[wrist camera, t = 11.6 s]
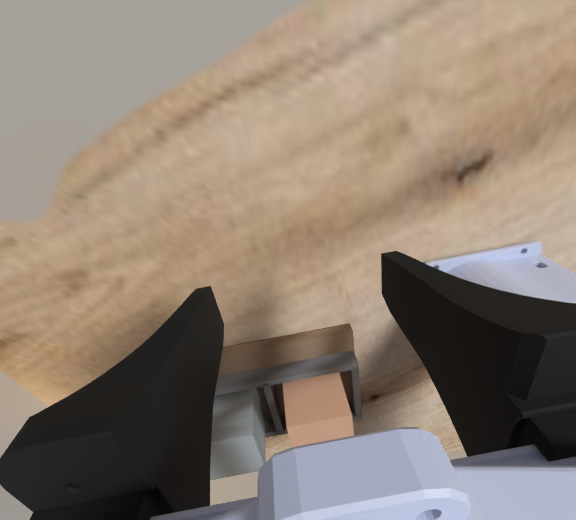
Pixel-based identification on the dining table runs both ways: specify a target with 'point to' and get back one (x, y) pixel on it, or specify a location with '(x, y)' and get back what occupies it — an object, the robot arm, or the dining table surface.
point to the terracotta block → (317, 410)
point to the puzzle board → (272, 391)
